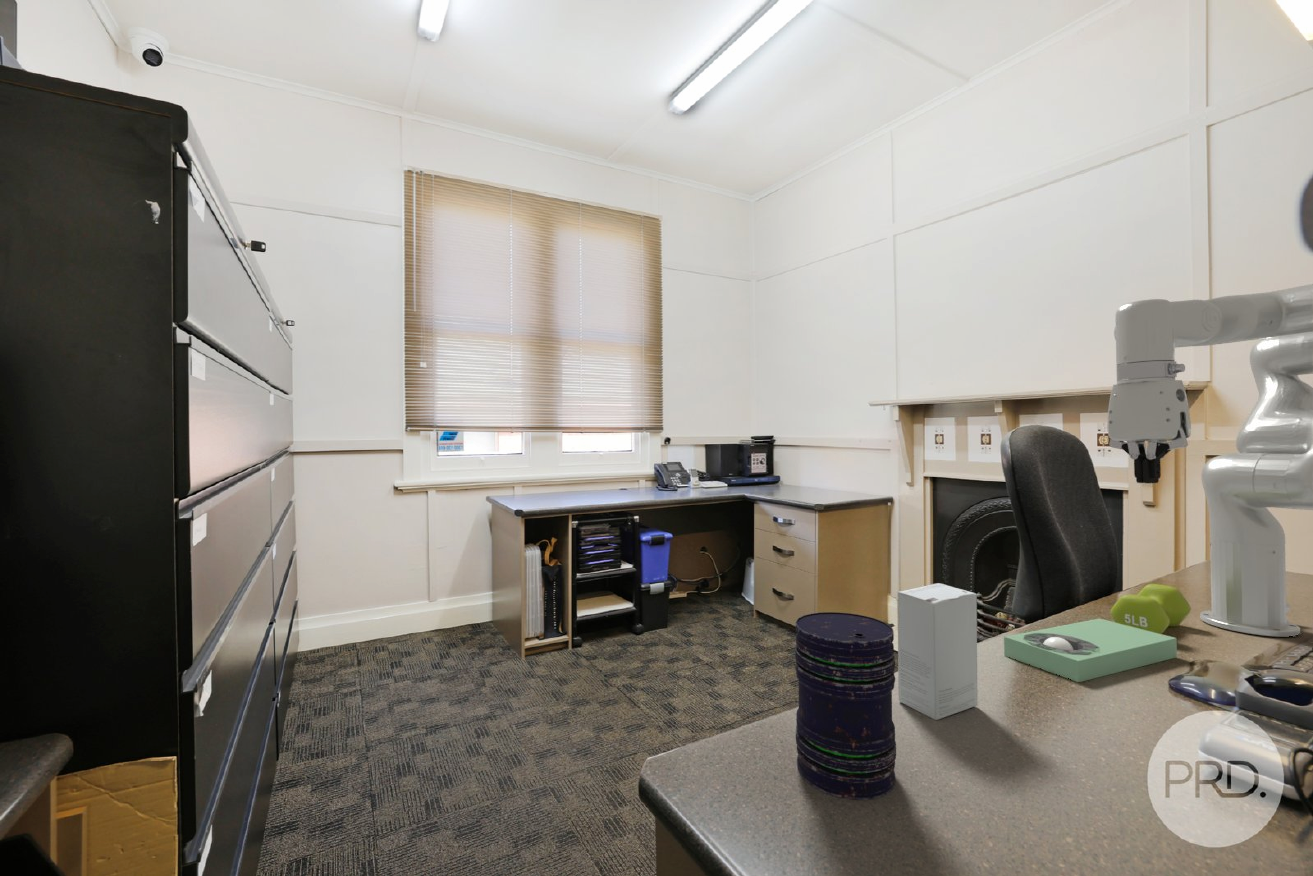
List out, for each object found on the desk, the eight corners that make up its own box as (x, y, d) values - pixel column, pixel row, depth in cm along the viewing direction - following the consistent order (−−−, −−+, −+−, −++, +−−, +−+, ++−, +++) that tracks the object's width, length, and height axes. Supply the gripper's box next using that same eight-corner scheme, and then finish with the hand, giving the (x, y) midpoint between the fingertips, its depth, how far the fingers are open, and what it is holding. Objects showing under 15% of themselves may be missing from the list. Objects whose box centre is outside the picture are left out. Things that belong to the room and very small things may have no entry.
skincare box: (939, 690, 77) (937, 581, 78) (981, 708, 72) (979, 591, 72) (895, 702, 74) (894, 588, 74) (936, 723, 68) (934, 599, 68)
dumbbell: (1139, 617, 110) (1138, 580, 110) (1194, 628, 103) (1193, 588, 103) (1106, 633, 100) (1106, 592, 101) (1165, 646, 94) (1164, 603, 94)
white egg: (1046, 664, 88) (1056, 642, 89) (1073, 673, 85) (1083, 650, 86) (1032, 650, 87) (1043, 628, 88) (1059, 659, 83) (1070, 636, 84)
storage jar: (779, 751, 62) (778, 615, 62) (859, 740, 64) (858, 609, 65) (826, 808, 52) (825, 646, 53) (918, 792, 55) (916, 637, 55)
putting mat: (1099, 635, 99) (1099, 618, 99) (1176, 657, 89) (1176, 638, 89) (1004, 655, 90) (1004, 636, 90) (1078, 682, 80) (1078, 661, 80)
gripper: (1214, 369, 90) (1216, 484, 90) (1109, 380, 104) (1111, 479, 104) (1187, 368, 87) (1190, 486, 87) (1083, 378, 101) (1085, 481, 101)
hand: (1147, 482), depth 96 cm, fingers closed
